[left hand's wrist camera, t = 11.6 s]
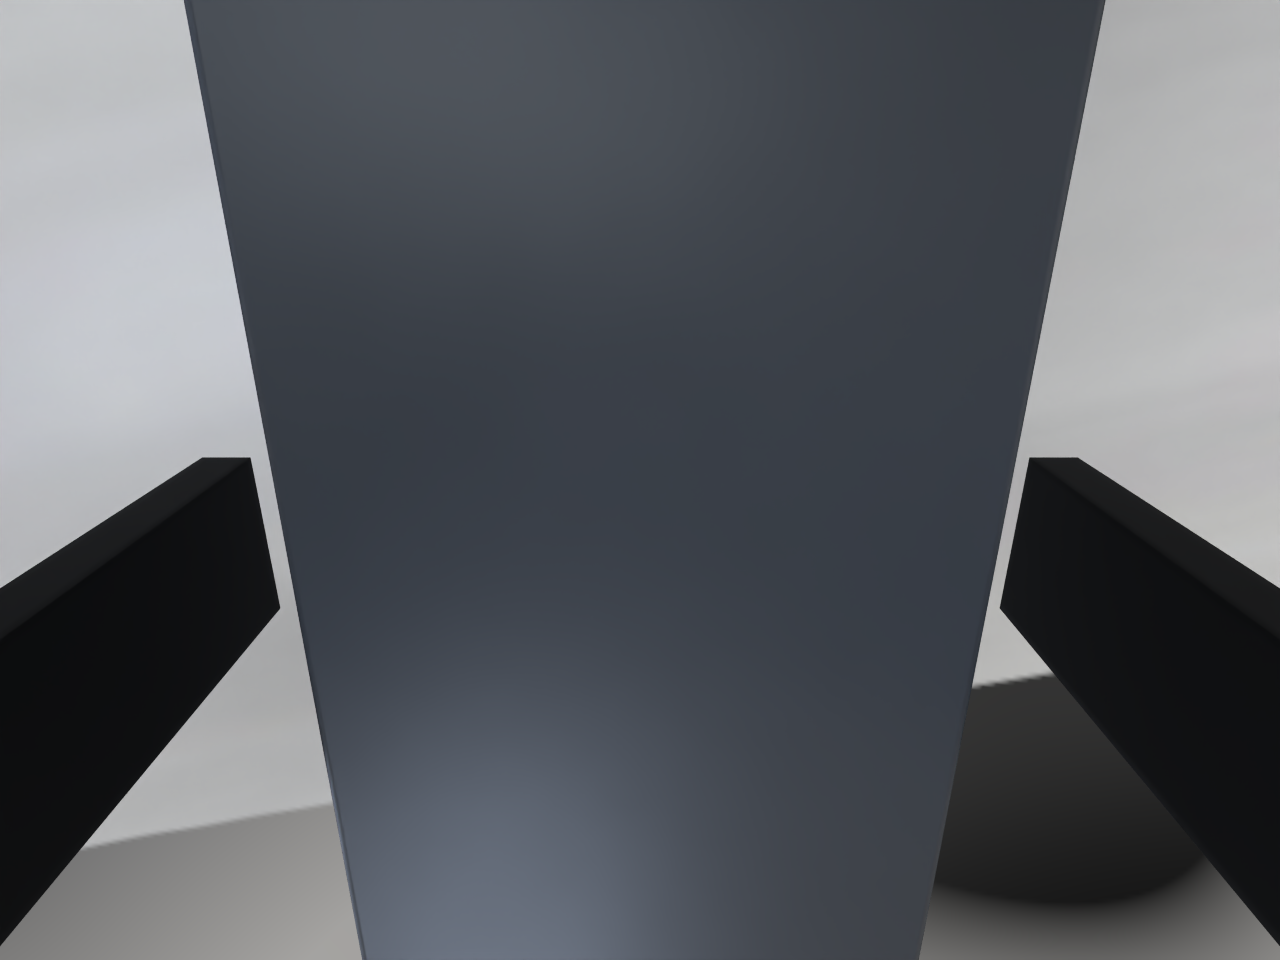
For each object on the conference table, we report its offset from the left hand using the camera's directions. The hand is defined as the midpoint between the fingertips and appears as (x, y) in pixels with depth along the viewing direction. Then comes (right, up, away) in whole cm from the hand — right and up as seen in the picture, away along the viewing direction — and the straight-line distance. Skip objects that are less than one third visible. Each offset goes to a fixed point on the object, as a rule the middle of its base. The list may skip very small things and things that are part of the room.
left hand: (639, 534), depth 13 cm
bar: (0, +7, 0) cm, 8 cm away
